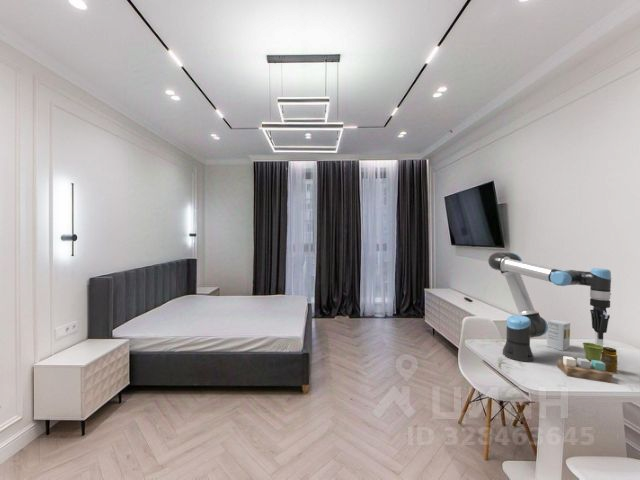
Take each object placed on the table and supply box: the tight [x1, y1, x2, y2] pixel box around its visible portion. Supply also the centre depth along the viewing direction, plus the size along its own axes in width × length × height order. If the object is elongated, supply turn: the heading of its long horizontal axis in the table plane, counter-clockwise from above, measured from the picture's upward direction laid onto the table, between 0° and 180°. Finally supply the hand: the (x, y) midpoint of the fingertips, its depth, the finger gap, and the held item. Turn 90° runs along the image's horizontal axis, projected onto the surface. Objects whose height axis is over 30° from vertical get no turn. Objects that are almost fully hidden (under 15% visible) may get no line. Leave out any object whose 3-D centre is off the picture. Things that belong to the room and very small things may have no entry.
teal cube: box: [590, 360, 605, 371], centre depth 150 cm, size 4×4×4 cm
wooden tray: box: [557, 359, 613, 384], centre depth 152 cm, size 18×12×4 cm, turn 70°
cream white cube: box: [562, 355, 577, 367], centre depth 155 cm, size 4×4×4 cm
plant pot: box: [581, 342, 604, 361], centre depth 172 cm, size 9×9×9 cm
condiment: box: [600, 346, 622, 375], centre depth 158 cm, size 7×8×12 cm
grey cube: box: [576, 357, 591, 369], centre depth 152 cm, size 4×4×4 cm
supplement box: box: [546, 319, 571, 352], centre depth 192 cm, size 10×9×17 cm
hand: (598, 344), depth 150 cm, fingers closed
